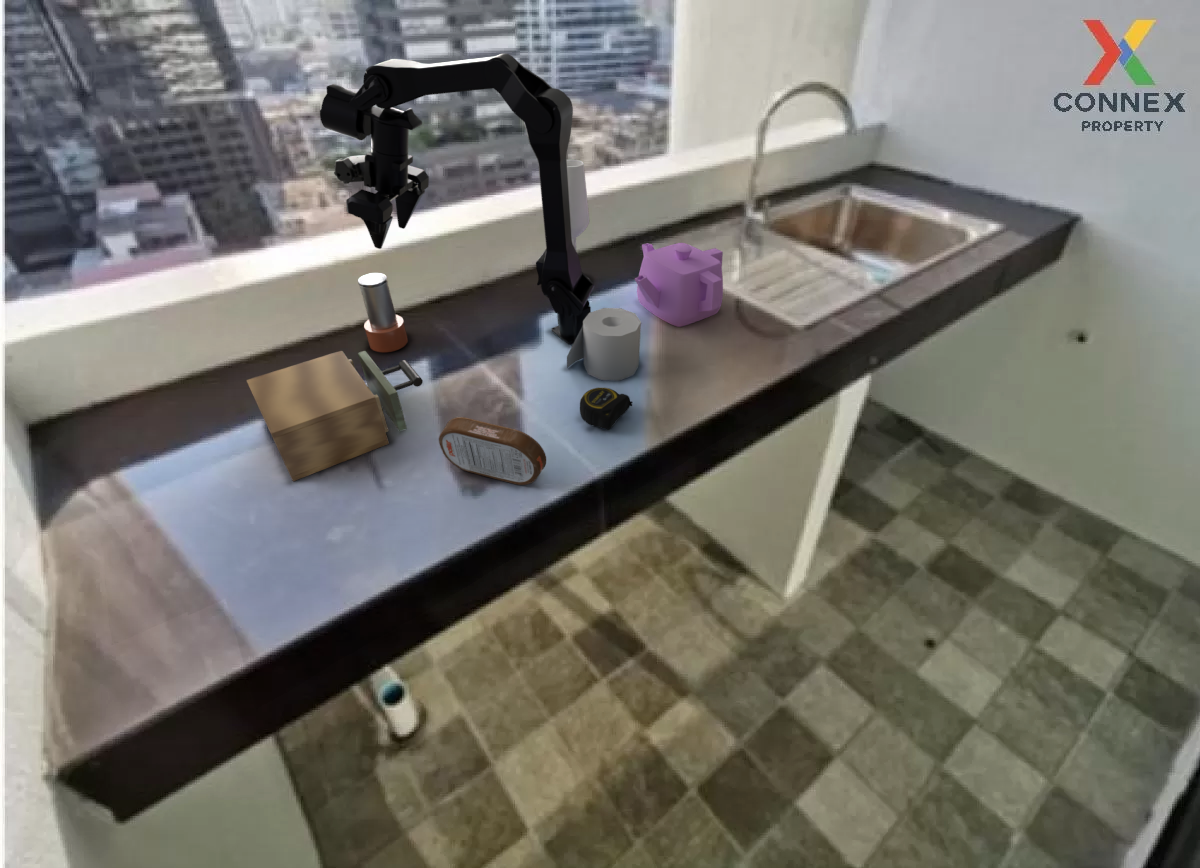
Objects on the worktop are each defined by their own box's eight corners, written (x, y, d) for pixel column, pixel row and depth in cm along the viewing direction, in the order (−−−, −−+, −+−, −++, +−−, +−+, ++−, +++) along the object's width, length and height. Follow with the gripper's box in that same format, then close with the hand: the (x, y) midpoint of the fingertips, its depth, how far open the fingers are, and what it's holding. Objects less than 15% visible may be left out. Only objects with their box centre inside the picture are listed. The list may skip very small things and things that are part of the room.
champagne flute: (580, 271, 133) (577, 155, 117) (596, 283, 128) (595, 164, 113) (553, 278, 130) (547, 161, 114) (568, 291, 126) (564, 170, 110)
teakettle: (719, 332, 113) (728, 270, 105) (629, 324, 115) (632, 263, 107) (721, 290, 126) (729, 232, 118) (640, 284, 128) (643, 226, 120)
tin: (549, 479, 83) (545, 432, 78) (540, 494, 81) (535, 447, 75) (452, 455, 87) (442, 408, 81) (441, 469, 85) (430, 422, 79)
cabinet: (356, 395, 98) (341, 350, 92) (389, 443, 89) (375, 396, 83) (267, 426, 92) (246, 380, 86) (293, 481, 83) (270, 433, 77)
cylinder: (401, 324, 107) (390, 280, 102) (375, 332, 105) (363, 287, 100) (391, 314, 110) (380, 270, 105) (366, 321, 108) (353, 277, 102)
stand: (413, 344, 110) (409, 325, 107) (377, 356, 106) (371, 337, 104) (399, 329, 114) (395, 310, 111) (364, 340, 111) (358, 320, 108)
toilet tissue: (555, 368, 104) (553, 324, 98) (618, 345, 109) (619, 302, 104) (584, 394, 98) (583, 349, 92) (649, 368, 104) (651, 324, 98)
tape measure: (608, 437, 90) (609, 418, 87) (571, 421, 93) (570, 402, 90) (632, 413, 94) (633, 394, 92) (595, 399, 97) (595, 380, 95)
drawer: (404, 376, 100) (395, 340, 96) (438, 416, 92) (430, 380, 88) (296, 413, 93) (280, 377, 88) (321, 462, 84) (306, 424, 80)
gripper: (370, 119, 105) (372, 205, 116) (310, 150, 91) (319, 244, 102) (431, 139, 105) (428, 223, 116) (380, 172, 91) (382, 265, 102)
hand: (390, 237), depth 109 cm, fingers open, 9 cm apart
